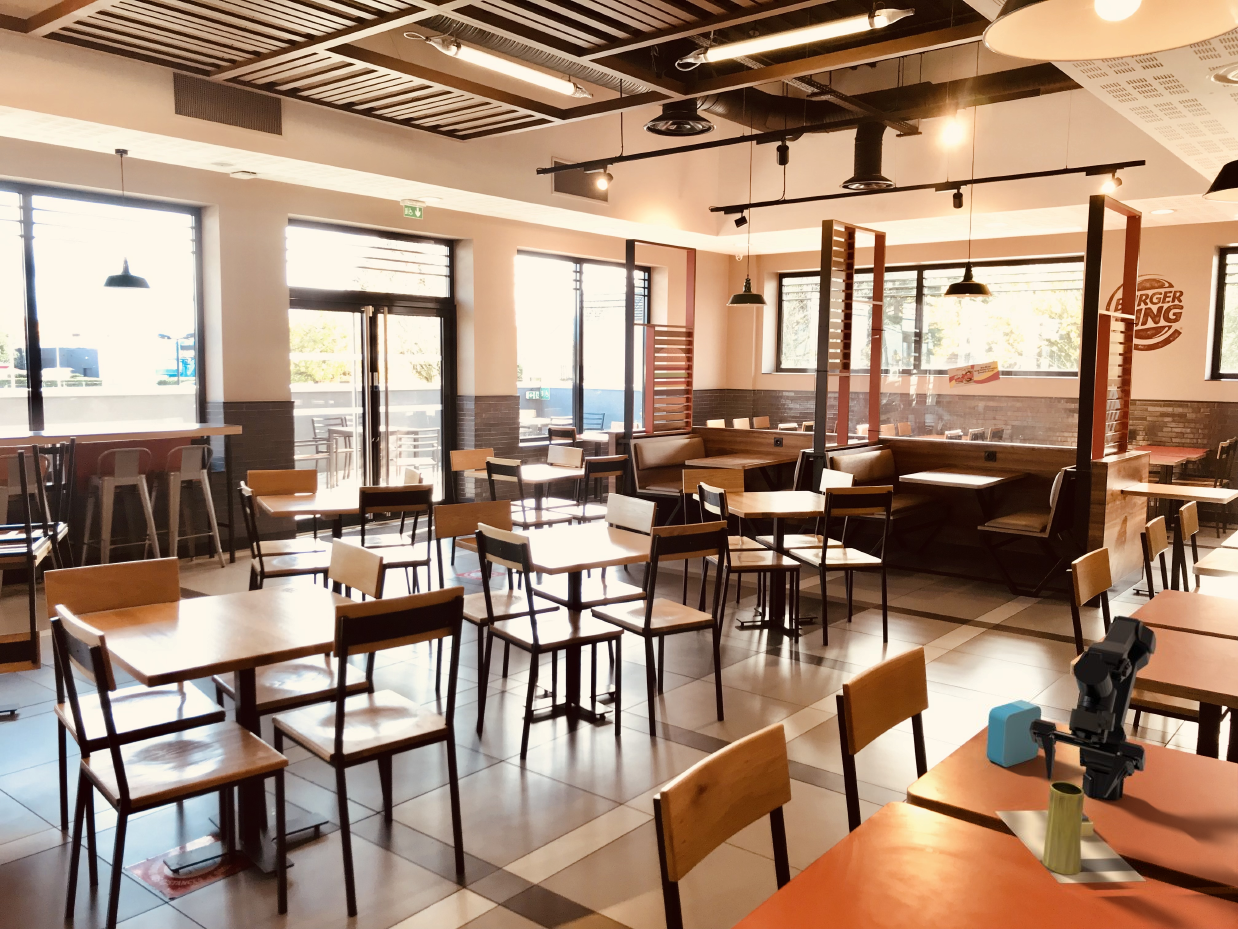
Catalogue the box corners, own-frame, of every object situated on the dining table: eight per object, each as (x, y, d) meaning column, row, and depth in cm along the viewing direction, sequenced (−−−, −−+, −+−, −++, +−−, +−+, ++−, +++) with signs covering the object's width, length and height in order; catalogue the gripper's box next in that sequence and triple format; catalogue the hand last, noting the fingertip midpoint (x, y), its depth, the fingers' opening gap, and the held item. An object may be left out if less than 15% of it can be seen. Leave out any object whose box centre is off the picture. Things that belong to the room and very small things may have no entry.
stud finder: (1052, 817, 177) (1053, 802, 177) (1072, 816, 178) (1073, 801, 177) (1071, 836, 170) (1072, 820, 170) (1092, 835, 171) (1093, 820, 170)
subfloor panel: (1070, 813, 180) (1070, 809, 180) (1145, 885, 156) (1146, 881, 156) (994, 815, 179) (994, 811, 179) (1059, 887, 156) (1059, 883, 156)
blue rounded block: (1020, 749, 209) (1024, 698, 207) (1038, 757, 205) (1042, 705, 203) (985, 761, 203) (988, 708, 201) (1003, 769, 199) (1006, 715, 197)
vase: (1074, 880, 157) (1080, 800, 155) (1037, 866, 161) (1042, 788, 159) (1085, 865, 161) (1091, 787, 159) (1048, 852, 165) (1053, 776, 163)
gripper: (1036, 677, 173) (1015, 755, 166) (1149, 703, 162) (1132, 788, 155) (1042, 703, 181) (1023, 778, 174) (1152, 730, 170) (1135, 811, 163)
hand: (1076, 788), depth 166 cm, fingers open, 9 cm apart
